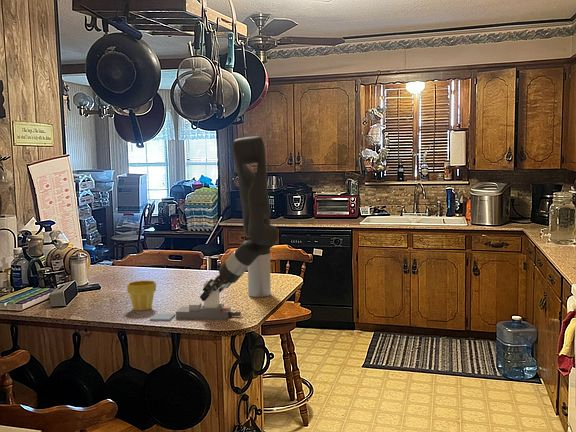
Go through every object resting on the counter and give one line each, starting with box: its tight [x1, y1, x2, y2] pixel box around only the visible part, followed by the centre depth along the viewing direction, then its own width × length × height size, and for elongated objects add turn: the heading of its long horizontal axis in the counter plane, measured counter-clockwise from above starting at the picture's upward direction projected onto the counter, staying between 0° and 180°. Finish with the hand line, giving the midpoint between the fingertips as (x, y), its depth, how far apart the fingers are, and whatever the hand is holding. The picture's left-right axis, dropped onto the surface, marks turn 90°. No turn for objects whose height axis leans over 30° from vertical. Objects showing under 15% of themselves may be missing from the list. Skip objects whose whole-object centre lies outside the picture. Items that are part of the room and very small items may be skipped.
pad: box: [149, 313, 176, 322], centre depth 199 cm, size 7×7×1 cm
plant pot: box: [126, 280, 157, 311], centre depth 213 cm, size 10×10×10 cm
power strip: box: [175, 301, 242, 320], centre depth 200 cm, size 7×22×4 cm, turn 85°
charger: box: [203, 278, 221, 308], centre depth 200 cm, size 4×4×11 cm
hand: (207, 296), depth 201 cm, fingers open, 6 cm apart
